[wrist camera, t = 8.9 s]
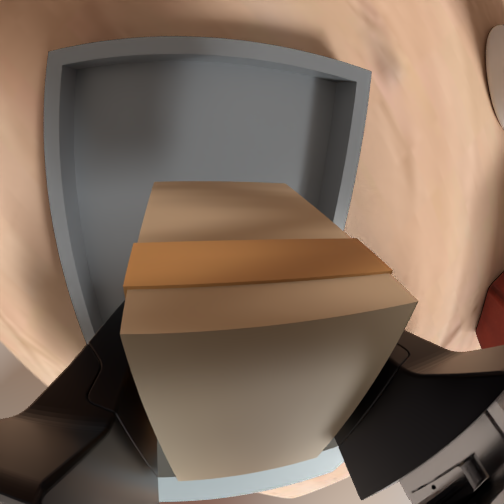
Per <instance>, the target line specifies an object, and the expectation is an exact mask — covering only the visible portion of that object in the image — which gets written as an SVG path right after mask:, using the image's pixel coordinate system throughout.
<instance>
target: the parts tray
mask: <svg viewBox="0 0 504 504" xmlns="http://www.w3.org/2000/svg"><path fill="white" fill-rule="evenodd" d="M371 73H372V71H369V70H366V69H363V68H360V67H357V66H354V65H351V64H348V63H345V62H342V61H338V60H335V59H332V58H328V57H324V56H321V55H317V54H313V53H309V52H305V51H300V50H296V49H291V48H286V47H281V46H276V45H270V44H264V43H257V42H250V41H243V40H234V39H224V38H210V37H188V36H161V37H139V38H126V39H116V40H108V41H100V42H93V43H87V44H82V45H76V46H71V47H66V48H62V49H57V50H53V51H49V52H48V60H47V68H46V79H45V93H44V153H45V168H46V179H47V188H48V196H49V204H50V210H51V217H52V222H53V228H54V233H55V238H56V243H57V248H58V252H59V257H60V261H61V265H62V269H63V273H64V277H65V280H66V284H67V288H68V291H69V294H70V298H71V301H72V304H73V307H74V310H75V313H76V316H77V319H78V322H79V325H80V328H81V330H82V333H83V336H84V338H85V341H86V344H88V342H89V341H90V340H91V339H92V337H93V336H94V335H95V334H96V333H97V331H98V330H99V329H100V328H101V327H102V325H103V324H104V323H105V322H106V321H107V320H108V318H109V317H110V316H111V315H112V314H113V313H114V311H115V310H116V309H117V308H118V307H119V306H120V304H121V303H122V302H123V301H124V300H125V295H124V289H123V284H124V279H125V275H126V271H127V267H128V262H129V258H130V254H131V251H132V247H133V243H137V242H138V238H139V234H140V230H141V226H142V223H143V219H144V215H145V211H146V208H147V204H148V201H149V197H150V194H151V191H152V187H153V184H154V182H167V181H232V182H264V183H285V184H287V185H288V186H289V187H291V188H292V189H293V190H294V191H296V192H297V193H298V194H299V195H301V196H302V197H303V198H304V199H306V200H307V201H308V202H309V203H310V204H312V205H313V206H314V207H315V208H317V209H318V210H319V211H320V212H321V213H323V214H324V215H325V216H326V217H327V218H328V219H330V220H331V221H332V222H333V223H334V224H336V225H337V226H338V227H339V228H340V229H341V230H343V231H344V227H345V223H346V219H347V215H348V210H349V206H350V201H351V197H352V192H353V187H354V183H355V178H356V173H357V167H358V162H359V157H360V151H361V145H362V139H363V133H364V127H365V120H366V114H367V107H368V99H369V91H370V83H371Z"/></svg>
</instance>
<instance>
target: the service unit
mask: <svg viewBox="0 0 504 504" xmlns="http://www.w3.org/2000/svg"><path fill="white" fill-rule="evenodd" d="M338 447H339V446H338V445H337V443H336V440H335V438H333V439H332V440H331V441H330V443H329V444H328V445H327V446H326V447H325V449H324V450H323V451H322V452H321V453H320V454H319V456H318V457H317V458H313V459H310V460H306V461H303V462H299V463H295V464H292V465H288V466H284V467H279V468H275V469H270V470H266V471H261V472H255V473H250V474H244V475H238V476H231V477H223V478H215V479H205V480H193V481H178V480H177V478H176V476H175V474H174V472H173V470H172V468H171V466H170V464H169V462H168V460H167V458H166V456H165V454H164V452H163V450H162V448H161V446H160V444H159V441H158V439H157V463H158V477H157V478H158V491H159V502H176V501H195V500H207V499H217V498H225V497H232V496H239V495H245V494H250V493H256V492H261V491H266V490H270V489H275V488H279V487H283V486H287V485H291V484H294V483H298V482H302V481H305V480H308V479H312V478H315V477H318V476H321V475H324V474H327V473H330V472H333V471H334V470H335V469H336V468H337V467H338V466H340V465H341V464H342V463H343V462H344V460H343V457H342V455H341V452H340V450H339V448H338Z"/></svg>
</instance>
